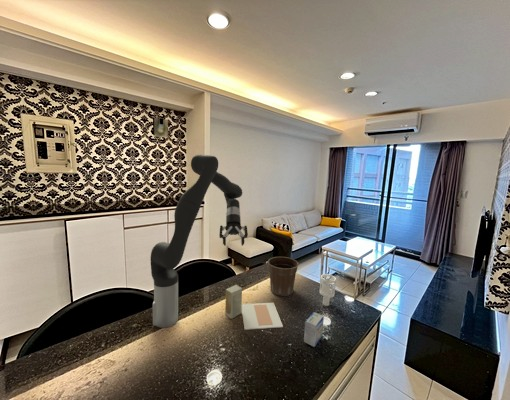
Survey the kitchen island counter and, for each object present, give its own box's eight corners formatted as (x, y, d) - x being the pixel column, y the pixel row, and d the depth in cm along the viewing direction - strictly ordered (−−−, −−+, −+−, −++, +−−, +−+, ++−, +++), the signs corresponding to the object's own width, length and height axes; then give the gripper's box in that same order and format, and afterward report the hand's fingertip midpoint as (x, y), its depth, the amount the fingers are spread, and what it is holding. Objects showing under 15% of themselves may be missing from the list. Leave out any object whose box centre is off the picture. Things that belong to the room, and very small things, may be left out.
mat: (244, 329, 91) (244, 328, 91) (240, 304, 108) (240, 303, 108) (283, 327, 94) (283, 326, 94) (273, 303, 111) (273, 302, 110)
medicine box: (314, 348, 84) (316, 326, 82) (303, 342, 86) (305, 321, 85) (322, 336, 90) (324, 316, 89) (311, 331, 93) (313, 311, 91)
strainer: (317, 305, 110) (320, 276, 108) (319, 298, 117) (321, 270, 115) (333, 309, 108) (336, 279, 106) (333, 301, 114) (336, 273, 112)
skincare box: (235, 308, 105) (236, 284, 103) (241, 313, 102) (242, 287, 100) (224, 314, 100) (225, 288, 99) (230, 319, 97) (231, 292, 96)
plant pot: (260, 289, 123) (261, 260, 121) (279, 280, 134) (281, 254, 132) (282, 302, 112) (284, 271, 109) (302, 291, 122) (304, 263, 120)
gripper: (219, 213, 117) (219, 241, 108) (247, 213, 119) (248, 241, 110) (219, 220, 123) (219, 248, 114) (245, 220, 125) (247, 248, 116)
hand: (233, 245), depth 112 cm, fingers open, 8 cm apart
